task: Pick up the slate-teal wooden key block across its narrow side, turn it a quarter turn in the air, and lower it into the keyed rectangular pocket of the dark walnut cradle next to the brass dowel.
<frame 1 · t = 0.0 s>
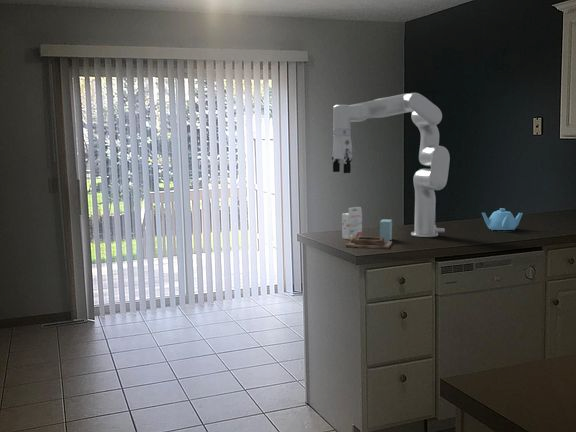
hand: (341, 172, 281), 31 cm above the countertop, tool pointing down, fingers open, 9 cm apart
key block: (385, 240, 290), on the countertop
cradle: (369, 245, 276), on the countertop
ink cartridge box: (351, 238, 297), on the countertop
teapot: (501, 230, 320), on the countertop
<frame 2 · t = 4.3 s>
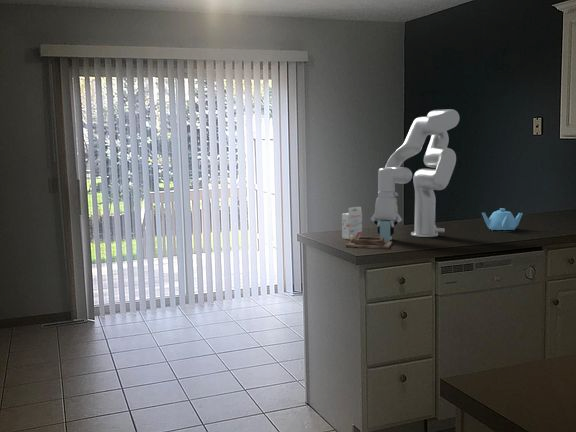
hand: (385, 234, 290), 2 cm above the countertop, tool pointing down, fingers closed on key block, 4 cm apart
key block: (385, 240, 290), on the countertop, touching gripper
everything else where it was.
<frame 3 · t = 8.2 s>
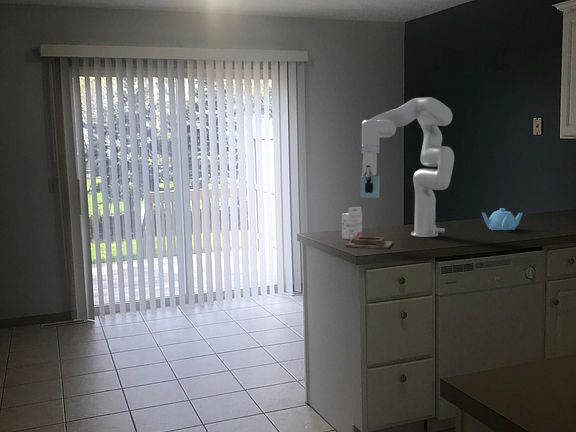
hand: (369, 191, 274), 23 cm above the countertop, tool pointing down, fingers closed on key block, 4 cm apart
key block: (369, 197, 274), point 21 cm above the countertop, touching gripper
everything else where it was.
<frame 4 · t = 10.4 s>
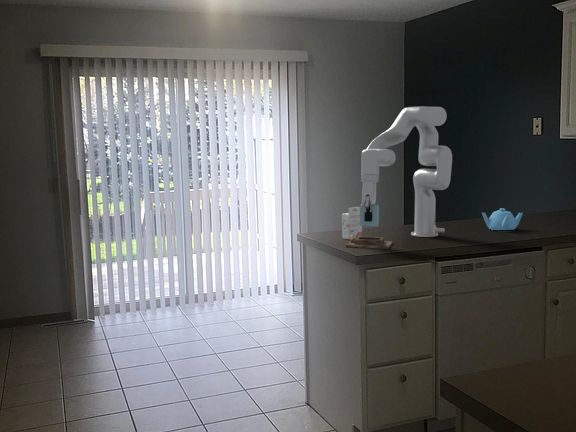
hand: (369, 220, 275), 11 cm above the countertop, tool pointing down, fingers closed on key block, 4 cm apart
key block: (369, 225, 275), point 9 cm above the countertop, touching gripper
everything else where it was.
when the fingers open (5 cm above the countertop, at t = 12.4 s): key block drops 1 cm, resting on cradle.
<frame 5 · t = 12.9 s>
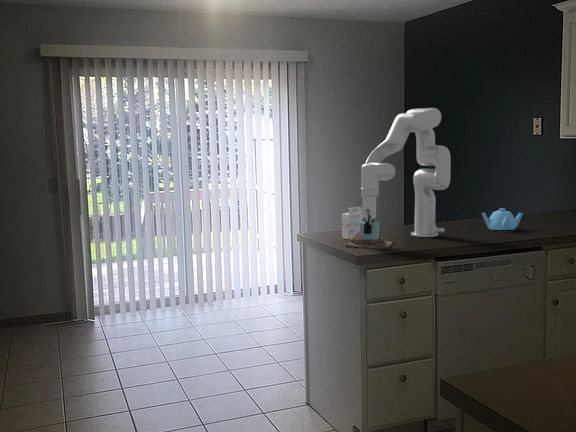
hand: (369, 232, 276), 6 cm above the countertop, tool pointing down, fingers open, 9 cm apart
key block: (369, 243, 276), point 1 cm above the countertop, touching cradle
everything else where it was.
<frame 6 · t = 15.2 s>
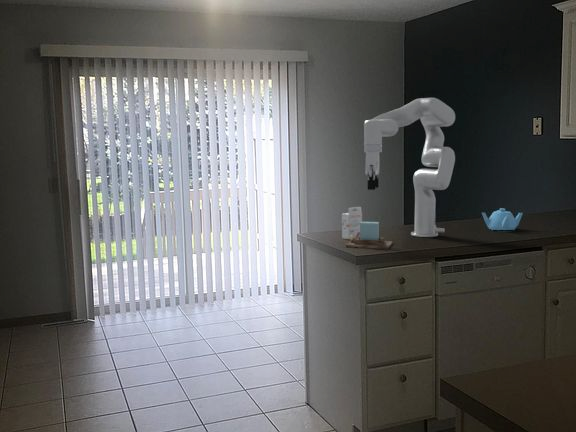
hand: (373, 188, 276), 25 cm above the countertop, tool pointing down, fingers open, 9 cm apart
nothing on the countertop moved.
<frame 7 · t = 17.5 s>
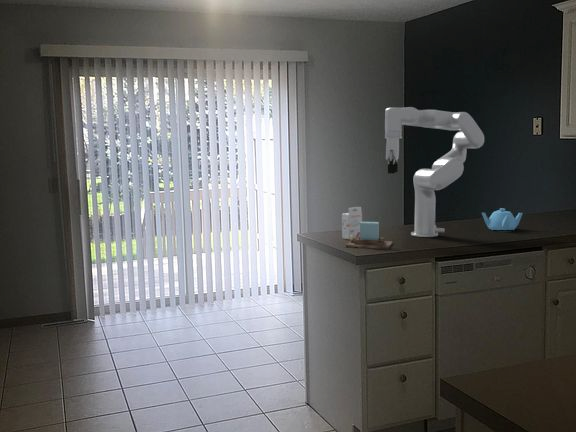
hand: (392, 172, 292), 30 cm above the countertop, tool pointing down, fingers open, 9 cm apart
nothing on the countertop moved.
at the end: key block 0.1 cm off-centre on the cradle, point 1.0 cm above the cradle's base; key block tilted 0°; the gripper is holding nothing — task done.
